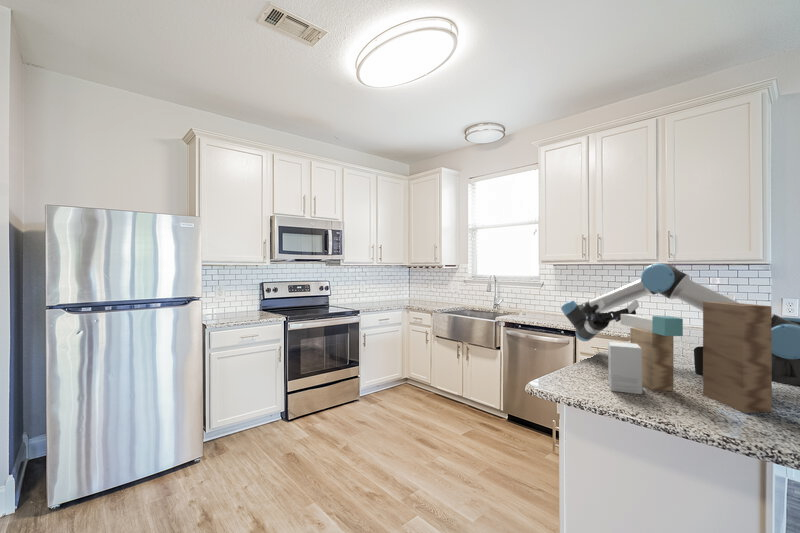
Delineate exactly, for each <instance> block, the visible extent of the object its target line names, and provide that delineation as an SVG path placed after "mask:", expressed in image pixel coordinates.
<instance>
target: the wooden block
mask: <svg viewBox="0 0 800 533" xmlns="http://www.w3.org/2000/svg"><path fill="white" fill-rule="evenodd" d="M629 335H630V337H629V338H630V342H629V343H633V344H638V345H639V346H640V347H641V348H642V387H644V388H646V389H648V390H651V391H664V392H665V391H668V392H669V391H670V392H672V391H674V336H663V335H659V334H655V333H652V332H650V331H646V330H642V329H638V328H634V327H630V334H629Z"/></svg>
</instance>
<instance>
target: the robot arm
mask: <svg viewBox="0 0 800 533" xmlns="http://www.w3.org/2000/svg"><path fill="white" fill-rule="evenodd" d="M657 294H659V295H661V296H662V297H665V298H667V299H670V300H675V299H676V300H680V301H682V302H684V303H685V304H688V305H689V306H691V307H693V308H696V309H698V310H700V311H701V312H703V302H733V303H739V302H738V301H736V300H734V299H732V298H729V297H727V296H726V295H724V294H721V293H719V292H717V291H714V290H713V289H710V288H708V287H706V286H704V285H702V284H699V283H697V282H695V281H693V280H691V277H690V275H689V274H687V273H685V272H683V271H681V270H678V268H677V267H675V266H673V265H671V264H666V263H658V262H657V263H652V264H651V265H648V266H647V267H645V268H644V269H643V271H642V272H641V277H640V278H639V279H637V280H635V281H633V282H631V283H628V284H626V285H624V286H621V287H618V288H617V289H614V290H612V291H610V292H607V293H605V294H603V295H600V296H598V297H595V298H593V299H591V300H588V301H587V302H584V303H581V304H578V303H577V302H575V300H569V301H567V302H566V303H564V304H563V305H561V307H560V309H561V311H562V313H563V314H564V316H565V317H566V318H567V319H568V321H569V322H570V324H572V326H573V327H574V328H575V336H576V338H577V339H578V340H579V341H582V342H589V341H591V339H594V338H595V337H596V336H597V335H598V334H600V333H601V332H602V331H603V330H604V329H606V328H608V326H609V324H610V322H612V321H615V322H616V323H618V322H619V321H620V322H621V314H633V315H637V311H636V310H637V309H638V308H639V307H640V305H639V301H638V299H640V298H644V297H646V296H648V295H653V296H654V295H657ZM630 302H631V303H630ZM627 303H630V304H628V305H627V306H626V308H623V309H618V310H616V311H615V310H614V311H610V310H612V309H614V308H617V307H620V306H622V305H625V304H627ZM608 311H609V312H608ZM771 334H772V381H773V382H777V383H782V384H787V385H792V386H794V385H795V386H800V318H799V317H788V316H787V317H786V316H779V315H777V314H775V313H771Z"/></svg>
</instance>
